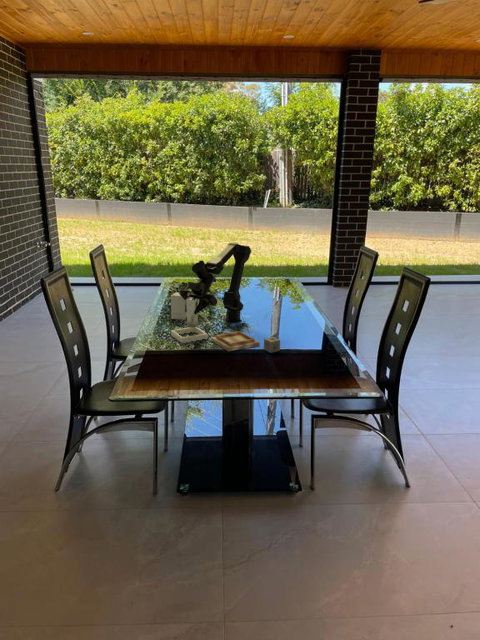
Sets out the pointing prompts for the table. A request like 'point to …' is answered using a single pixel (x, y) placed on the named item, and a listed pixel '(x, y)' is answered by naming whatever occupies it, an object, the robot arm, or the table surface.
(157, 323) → the table surface
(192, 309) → the disc
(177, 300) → the supplement box
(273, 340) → the dice cube
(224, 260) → the robot arm
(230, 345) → the tray
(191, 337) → the frame
